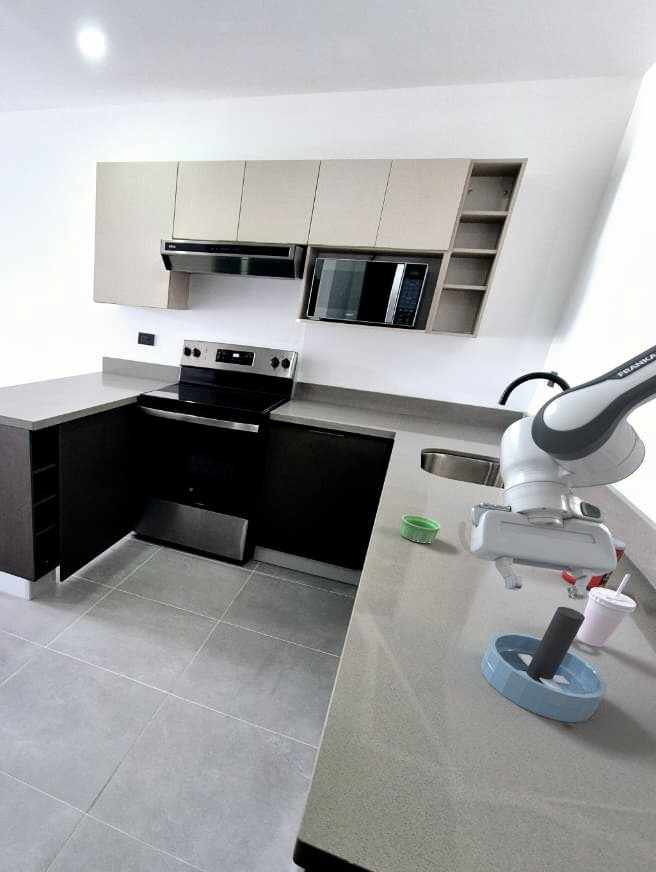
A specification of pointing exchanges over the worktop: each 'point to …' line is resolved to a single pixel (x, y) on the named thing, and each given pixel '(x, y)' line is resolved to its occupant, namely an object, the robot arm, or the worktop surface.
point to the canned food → (602, 579)
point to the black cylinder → (553, 648)
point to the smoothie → (604, 614)
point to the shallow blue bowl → (534, 695)
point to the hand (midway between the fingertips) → (545, 593)
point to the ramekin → (419, 528)
